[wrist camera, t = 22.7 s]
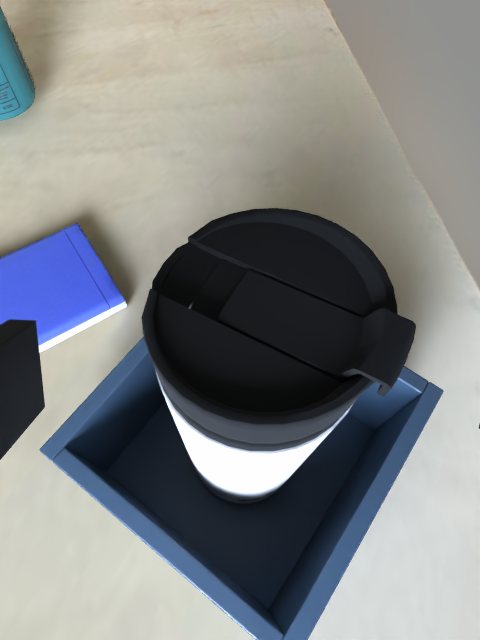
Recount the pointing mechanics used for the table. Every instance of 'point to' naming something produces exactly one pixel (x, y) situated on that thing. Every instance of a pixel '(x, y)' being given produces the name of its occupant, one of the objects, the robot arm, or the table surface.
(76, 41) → the table surface
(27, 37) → the table surface
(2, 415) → the robot arm
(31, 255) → the hard drive
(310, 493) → the blue open box
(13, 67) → the beverage bottle
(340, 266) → the travel mug
